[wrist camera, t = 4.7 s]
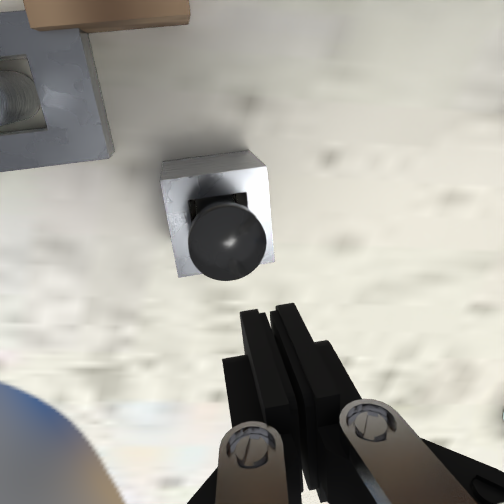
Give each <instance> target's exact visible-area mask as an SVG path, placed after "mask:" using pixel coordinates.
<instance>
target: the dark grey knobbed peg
mask: <svg viewBox="0 0 504 504" xmlns="http://www.w3.org/2000/svg"><path fill="white" fill-rule="evenodd" d="M195 205H196V211H197V216H196V217H195V218H194V220H193V221H192V223H191V225H190V228H189V232H188V249H189V255H190V258H191V260H192V262H193V264H194V265H195V267H196V268H197V269H198V270H199V271H200V272H201V273H203V274H204V275H206V276H207V277H210V278H212V279H215V280H221V281H231V280H236V279H239V278H242V277H244V276H246V275H248V274H249V273H251V272H252V271H253V270H255V268H256V267H257V266H258V265H259V264H260V262H261V261H262V259H263V257H264V254H265V251H266V245H267V241H266V234H265V231H264V229H263V226H262V225H261V223H260V221H259V220H258V218H257V217H256V215H255V214H254V213H253V212H252V211H251V210H249V209H248V208H246V207H245V206H243V205H240V204H237V203H235V201H234V199H233V197H232V195H231V194H227V195H220V196H213V197H206V198H198V199H195Z"/></svg>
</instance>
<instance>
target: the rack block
mask: <svg viewBox="0 0 504 504" xmlns="http://www.w3.org/2000/svg"><path fill="white" fill-rule="evenodd" d="M23 2H24V6H25V10H26V13H27V17H28V20H29V24H30V28H32V29H35V30H37V31H50V30H62V29H73V28H79V29H81V30H83V31H85V32H86V33H96V32H107V31H118V30H130V29H141V28H152V27H163V26H175V25H186V24H189V19H190V7H189V0H23Z"/></svg>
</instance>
